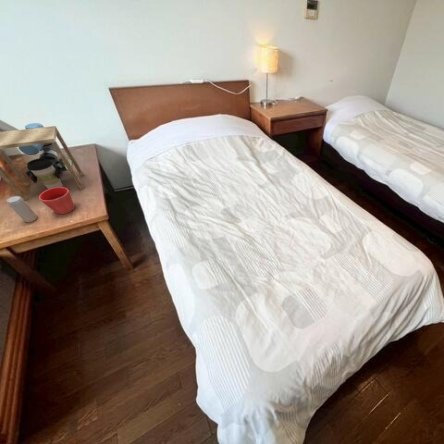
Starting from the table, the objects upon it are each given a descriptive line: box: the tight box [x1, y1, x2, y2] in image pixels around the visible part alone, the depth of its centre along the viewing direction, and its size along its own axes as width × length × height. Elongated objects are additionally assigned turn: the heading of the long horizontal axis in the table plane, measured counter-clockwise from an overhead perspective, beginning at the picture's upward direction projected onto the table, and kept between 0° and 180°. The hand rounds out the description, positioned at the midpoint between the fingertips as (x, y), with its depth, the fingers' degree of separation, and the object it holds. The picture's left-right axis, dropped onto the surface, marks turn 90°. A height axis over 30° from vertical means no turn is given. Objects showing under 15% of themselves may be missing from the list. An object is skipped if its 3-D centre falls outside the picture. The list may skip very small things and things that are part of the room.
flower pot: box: [38, 186, 75, 215], centre depth 119 cm, size 11×11×10 cm
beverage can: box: [6, 195, 38, 223], centre depth 111 cm, size 5×5×12 cm
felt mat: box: [55, 158, 73, 172], centre depth 147 cm, size 14×14×1 cm
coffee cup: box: [26, 157, 64, 190], centre depth 129 cm, size 10×10×15 cm
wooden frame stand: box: [0, 125, 85, 202], centre depth 124 cm, size 26×16×29 cm, turn 122°
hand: (45, 178), depth 126 cm, fingers closed on coffee cup, 9 cm apart
